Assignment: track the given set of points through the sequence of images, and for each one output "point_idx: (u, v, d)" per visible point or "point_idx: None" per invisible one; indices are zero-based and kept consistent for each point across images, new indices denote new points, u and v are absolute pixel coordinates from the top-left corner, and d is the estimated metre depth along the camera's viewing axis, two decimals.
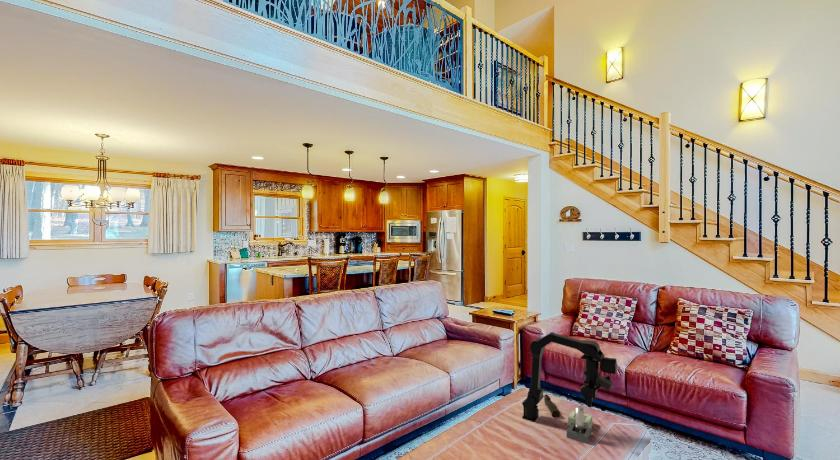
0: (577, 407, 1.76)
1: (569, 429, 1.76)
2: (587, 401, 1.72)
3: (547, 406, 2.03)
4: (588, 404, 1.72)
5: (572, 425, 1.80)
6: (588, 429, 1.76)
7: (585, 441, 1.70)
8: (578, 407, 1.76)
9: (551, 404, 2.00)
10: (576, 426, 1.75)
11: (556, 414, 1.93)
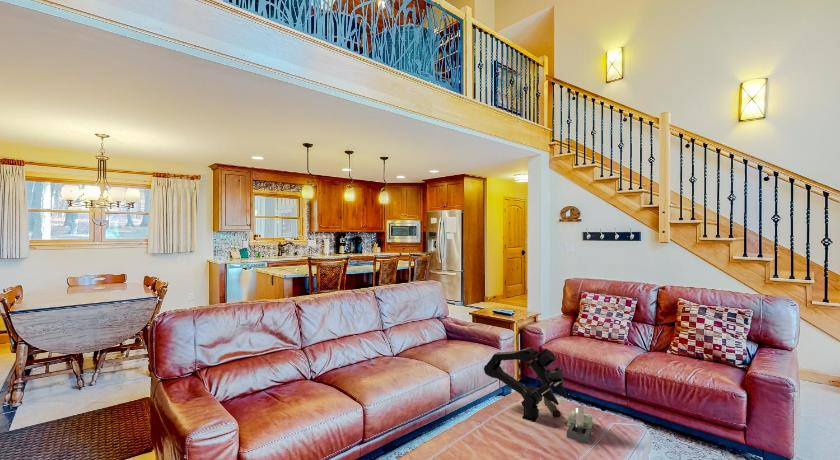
0: (577, 407, 1.76)
1: (569, 429, 1.76)
2: (552, 400, 1.79)
3: (547, 406, 2.03)
4: (554, 402, 1.78)
5: (572, 425, 1.80)
6: (588, 429, 1.76)
7: (585, 441, 1.70)
8: (578, 407, 1.76)
9: (551, 404, 2.00)
10: (576, 426, 1.75)
11: (556, 414, 1.93)
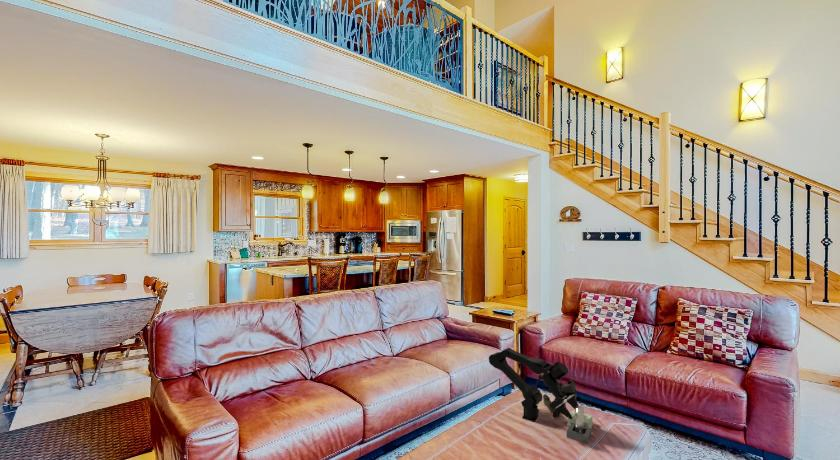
0: (577, 407, 1.76)
1: (569, 429, 1.76)
2: (565, 414, 1.74)
3: (547, 406, 2.03)
4: (568, 416, 1.74)
5: (572, 425, 1.80)
6: (588, 429, 1.76)
7: (585, 441, 1.70)
8: (578, 407, 1.76)
9: None
10: (576, 426, 1.75)
11: (557, 414, 1.93)
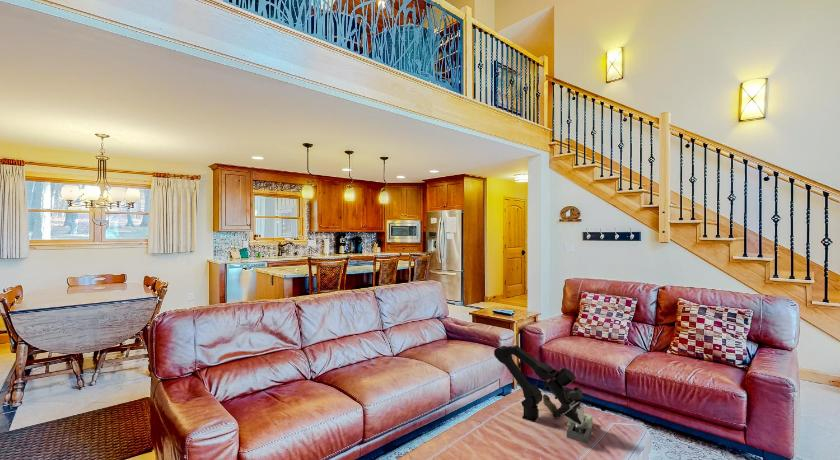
0: (577, 407, 1.76)
1: (569, 429, 1.76)
2: (574, 419, 1.74)
3: (547, 406, 2.03)
4: (577, 421, 1.74)
5: (572, 425, 1.80)
6: (588, 429, 1.76)
7: (585, 441, 1.70)
8: (578, 407, 1.76)
9: (551, 404, 2.00)
10: (576, 426, 1.75)
11: None
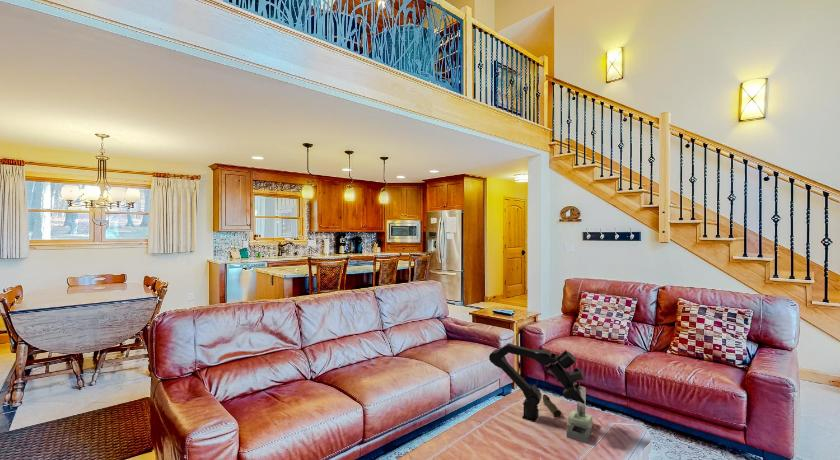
0: (579, 387, 1.82)
1: (569, 429, 1.76)
2: (578, 399, 1.80)
3: (547, 406, 2.03)
4: (581, 401, 1.80)
5: (572, 425, 1.80)
6: (588, 429, 1.76)
7: (585, 441, 1.70)
8: (580, 387, 1.82)
9: (551, 404, 2.00)
10: (579, 406, 1.81)
11: (558, 414, 1.93)
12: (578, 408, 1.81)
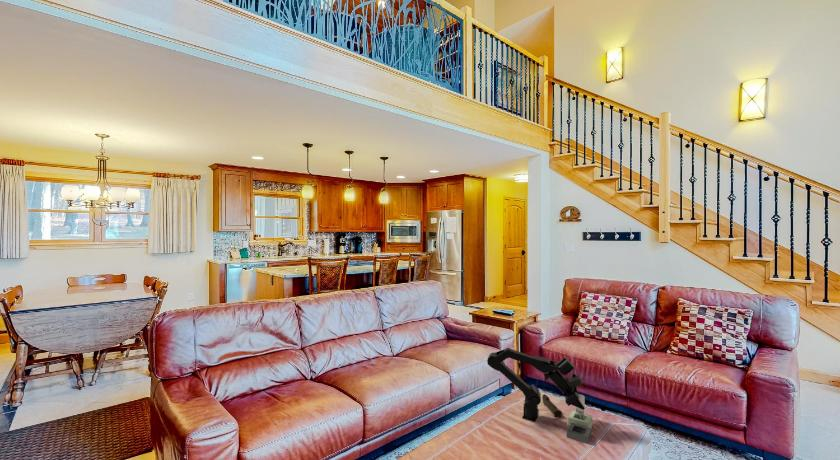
0: None
1: (569, 429, 1.76)
2: (578, 406, 1.82)
3: (547, 406, 2.03)
4: (581, 407, 1.82)
5: (572, 425, 1.80)
6: (588, 429, 1.76)
7: (585, 441, 1.70)
8: (579, 395, 1.86)
9: (551, 404, 2.00)
10: (578, 414, 1.85)
11: (558, 414, 1.93)
12: (577, 416, 1.85)
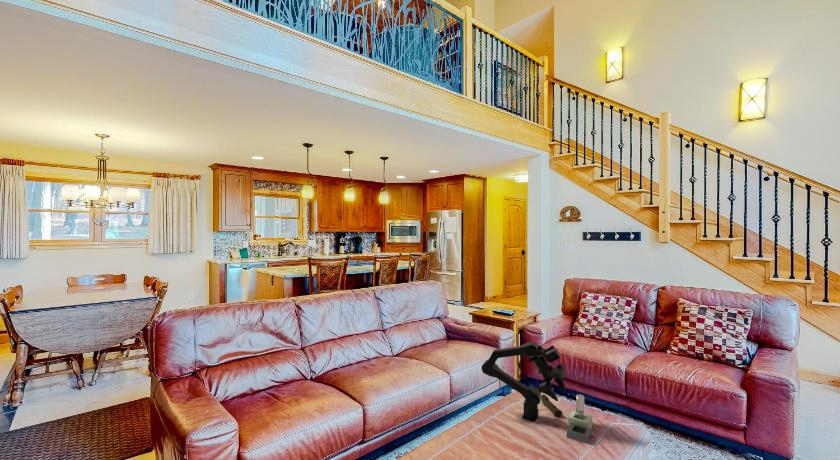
0: (578, 396, 1.86)
1: (569, 429, 1.76)
2: (551, 396, 1.84)
3: (547, 406, 2.02)
4: (554, 398, 1.84)
5: (572, 425, 1.80)
6: (588, 429, 1.76)
7: (585, 441, 1.70)
8: (578, 396, 1.86)
9: (551, 404, 2.00)
10: (578, 414, 1.85)
11: (559, 414, 1.93)
12: (577, 416, 1.85)
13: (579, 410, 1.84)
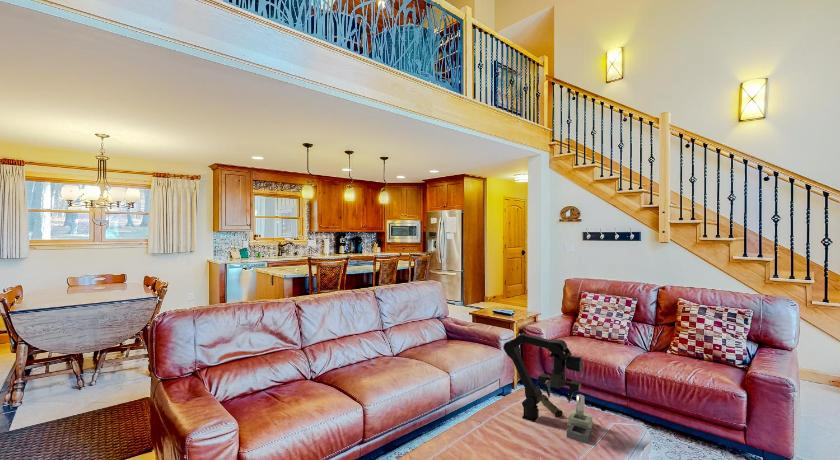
0: (578, 395, 1.86)
1: (569, 429, 1.76)
2: None
3: (546, 406, 2.02)
4: None
5: (572, 425, 1.80)
6: (588, 429, 1.76)
7: (585, 441, 1.70)
8: (579, 395, 1.86)
9: (551, 404, 2.00)
10: (578, 414, 1.85)
11: (559, 414, 1.93)
12: (577, 416, 1.85)
13: (579, 410, 1.84)
